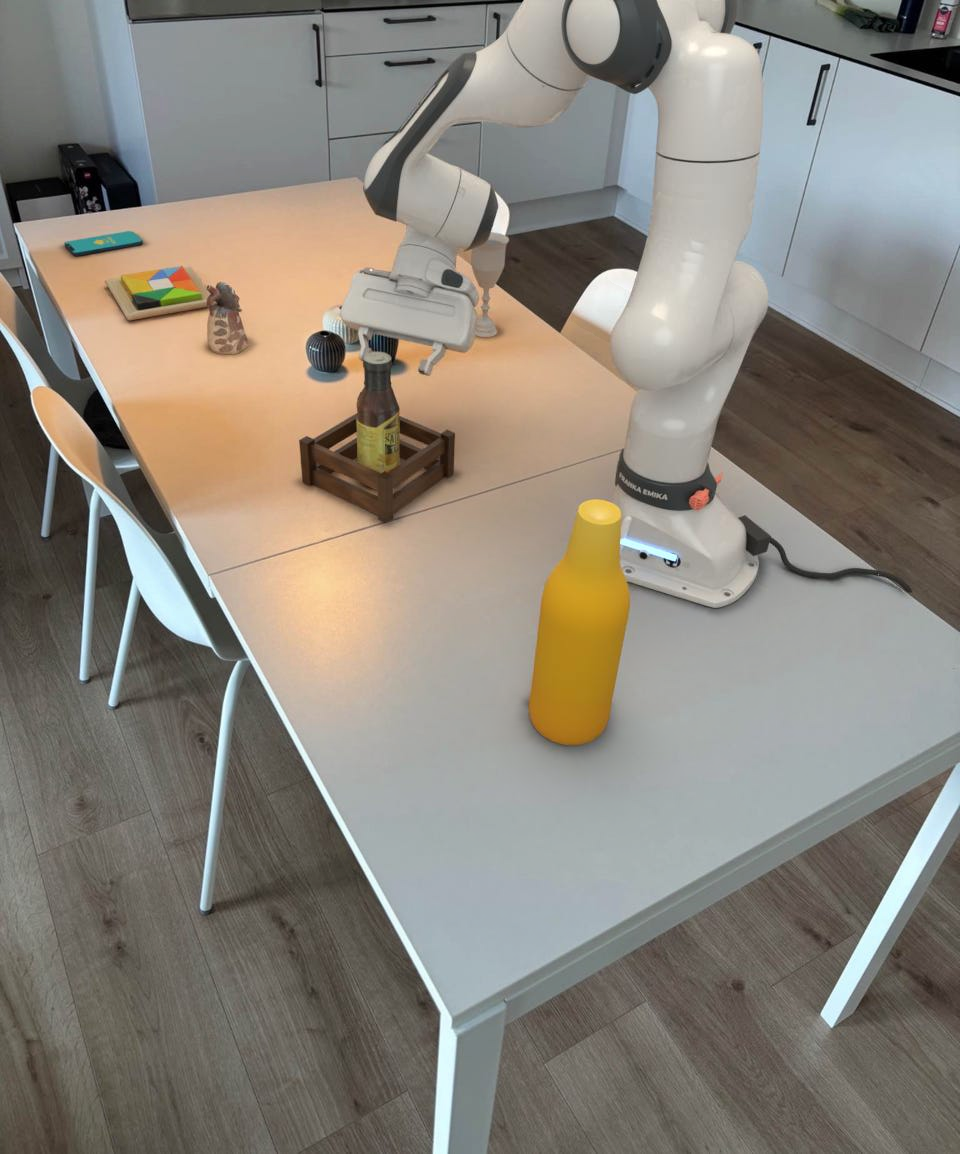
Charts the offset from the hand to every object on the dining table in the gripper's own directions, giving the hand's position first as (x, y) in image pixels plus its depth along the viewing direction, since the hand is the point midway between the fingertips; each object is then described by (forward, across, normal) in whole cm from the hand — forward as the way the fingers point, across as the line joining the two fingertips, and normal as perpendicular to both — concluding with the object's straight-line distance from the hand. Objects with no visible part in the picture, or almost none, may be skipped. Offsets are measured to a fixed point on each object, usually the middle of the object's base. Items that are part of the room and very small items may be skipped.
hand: (394, 367), depth 142 cm
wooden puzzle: (-13, -66, +36) cm, 76 cm away
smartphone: (-25, -92, +48) cm, 107 cm away
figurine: (-4, -43, +27) cm, 51 cm away
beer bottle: (+40, +40, -18) cm, 60 cm away
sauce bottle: (+15, 0, +7) cm, 17 cm away
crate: (+15, 0, +7) cm, 17 cm away
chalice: (-23, -3, +46) cm, 52 cm away
